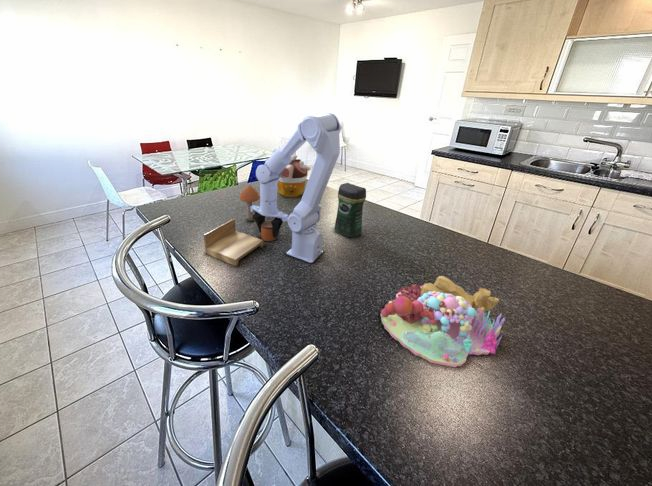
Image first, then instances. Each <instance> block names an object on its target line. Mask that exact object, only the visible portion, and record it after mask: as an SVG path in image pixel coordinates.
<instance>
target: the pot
mask: <svg viewBox="0 0 652 486" xmlns="http://www.w3.org/2000/svg"><path fill="white" fill-rule="evenodd" d="M271 221H272V220H271V219H269V220H268V219H267V220H266V219H265V221H263V222H261V233H260V239H261V240H263V242H264V241H265V242H272V241H275V240H276V239H277V237H276V238H274V237H273V227H272V224H271Z"/></svg>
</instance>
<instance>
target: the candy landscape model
mask: <svg viewBox="0 0 652 486" xmlns="http://www.w3.org/2000/svg"><path fill="white" fill-rule="evenodd" d="M491 294H492V292H491V291H490V290H488V289H487V288H483V287H480V288H479V289H478V291H476V292H475V293H474V294H473V295H472V294H469V293H467V291H465V289H464V288H463V287H461V286H459V285H457V284H456V283H454V282H453V281H452V280H451V279H449V278H448V277H446V276H445V275H438V276H437V278H436V280H435V282H434V283H431V282H428V283H427V282H425V283H424V284H423V285H421V286H420V285H418V284H412V285H411V286H405V287H400V288H398V291H397V293H396V295H395V298H394V299H393V300H388V302H387V303H386V304H385V305H384V308H382V309H381V311H380V320H381V324H382V325H383V328H384V330H386V332H388V333H389V335H390V336H391V337H392V338H393V339H394V341H396V342H399V343H400V345H401V346H402V347H403V348H404V349H407V350H409V351H410V352H411V353H412V354H414V355H415V356H416V357H420V358H422V360H423V359H424V360H426V361H428V362H429V363H431V364H435V365H441V366H447V367H452V368H457V367H462V366H463V365H464V364H465V363H466V362H467V358H468V356H471V355H475V356H481V355H486V356H488V355H489V354H491V355H495V354H496V353H497V351H496V350H497V348H498V346H500V342H501V340H502V338H503V337H502V336H503V333H502V334H501V329H502V327H503V325H504V323H505V321H506V317H505V316H504V317H503V318H502V319H501V317H502V315H503V314H502V313H503V312H500V314H498V316H497V317H496V320H495V319H493V321H492V320H491V317H489V316H490V313H491V310H493V309H494V308H495V307H496V306H497V304H498V303H499V302H500V299H499V298H498V297H495V296H491ZM487 312H488V313H487ZM500 320H501V321H500ZM500 334H501V335H500Z"/></svg>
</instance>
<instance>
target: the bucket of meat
mask: <svg viewBox="0 0 652 486" xmlns="http://www.w3.org/2000/svg"><path fill="white" fill-rule="evenodd" d="M291 158H292V160H291V162H290V163H289V164H288V166H287V167H286V168H285V169H284V170H283V171H282V172H281V176H280V178H279V180H278V184H277V191H278V193H279V194H280V195H281V196H283V197H284V198H298V197H300V196H302V195H303V194H304V190H305V187H306V182H307V179H308V171H311V170H312V167H310V166H309V165H307V164H305V162H304V160H302V159H299V158H298V155H296V154H293V155H292V156H291ZM297 158H298V159H297Z"/></svg>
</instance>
